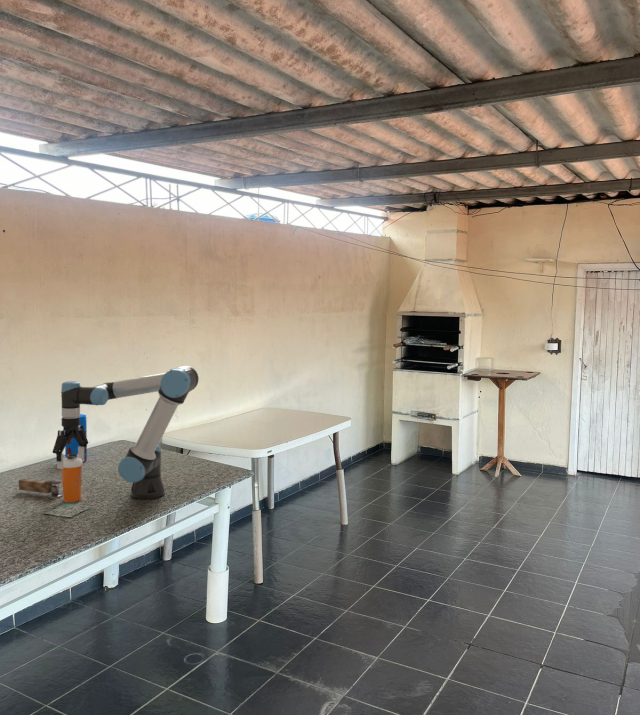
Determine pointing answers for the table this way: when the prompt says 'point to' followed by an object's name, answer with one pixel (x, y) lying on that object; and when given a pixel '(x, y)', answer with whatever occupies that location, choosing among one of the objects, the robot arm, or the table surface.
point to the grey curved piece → (55, 492)
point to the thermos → (72, 443)
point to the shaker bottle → (72, 478)
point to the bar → (37, 485)
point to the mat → (66, 505)
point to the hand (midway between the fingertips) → (71, 464)
